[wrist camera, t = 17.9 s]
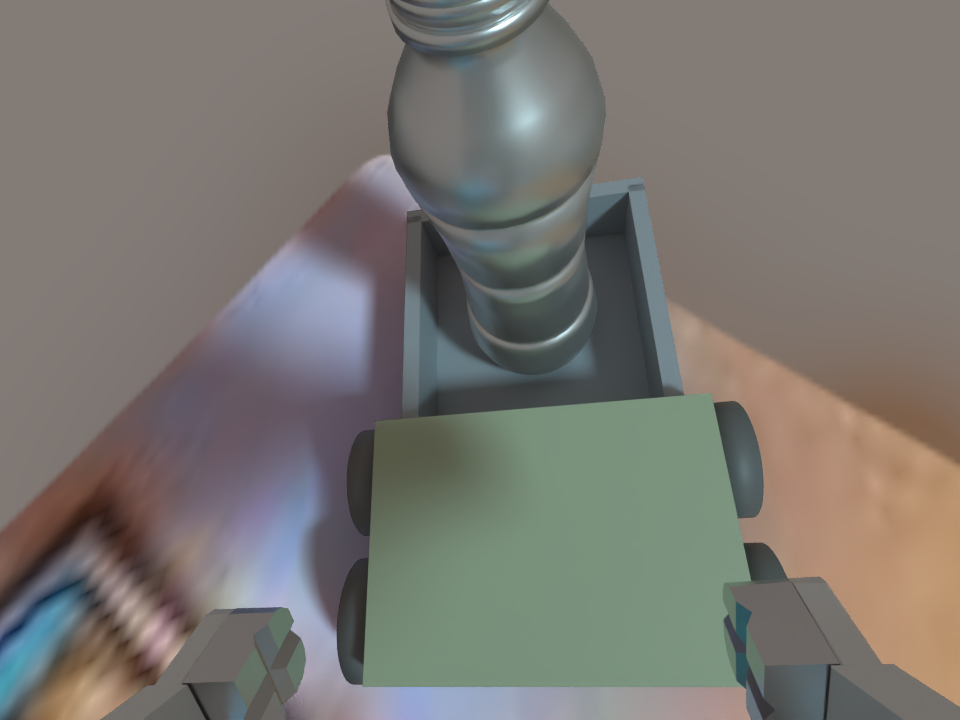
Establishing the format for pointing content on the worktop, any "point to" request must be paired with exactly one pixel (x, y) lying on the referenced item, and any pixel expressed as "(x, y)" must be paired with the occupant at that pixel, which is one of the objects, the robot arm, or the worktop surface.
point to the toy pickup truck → (550, 494)
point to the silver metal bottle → (503, 165)
